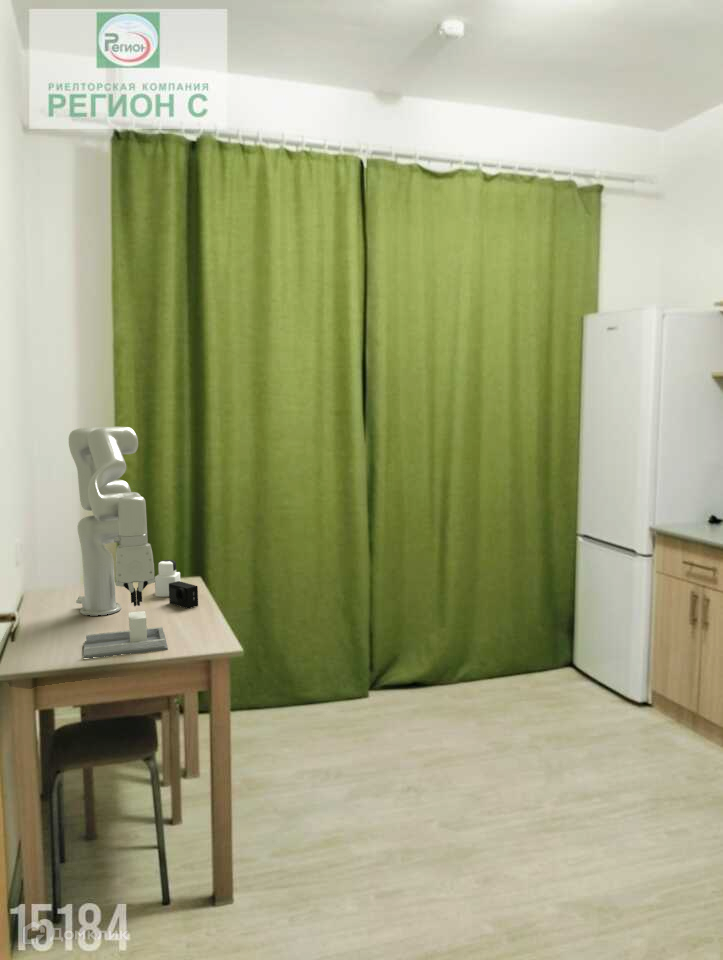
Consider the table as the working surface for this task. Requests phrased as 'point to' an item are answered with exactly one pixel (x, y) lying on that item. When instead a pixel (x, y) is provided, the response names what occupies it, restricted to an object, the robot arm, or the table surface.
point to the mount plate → (120, 643)
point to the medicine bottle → (165, 577)
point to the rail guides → (123, 646)
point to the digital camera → (183, 594)
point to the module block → (137, 626)
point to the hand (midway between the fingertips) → (136, 604)
